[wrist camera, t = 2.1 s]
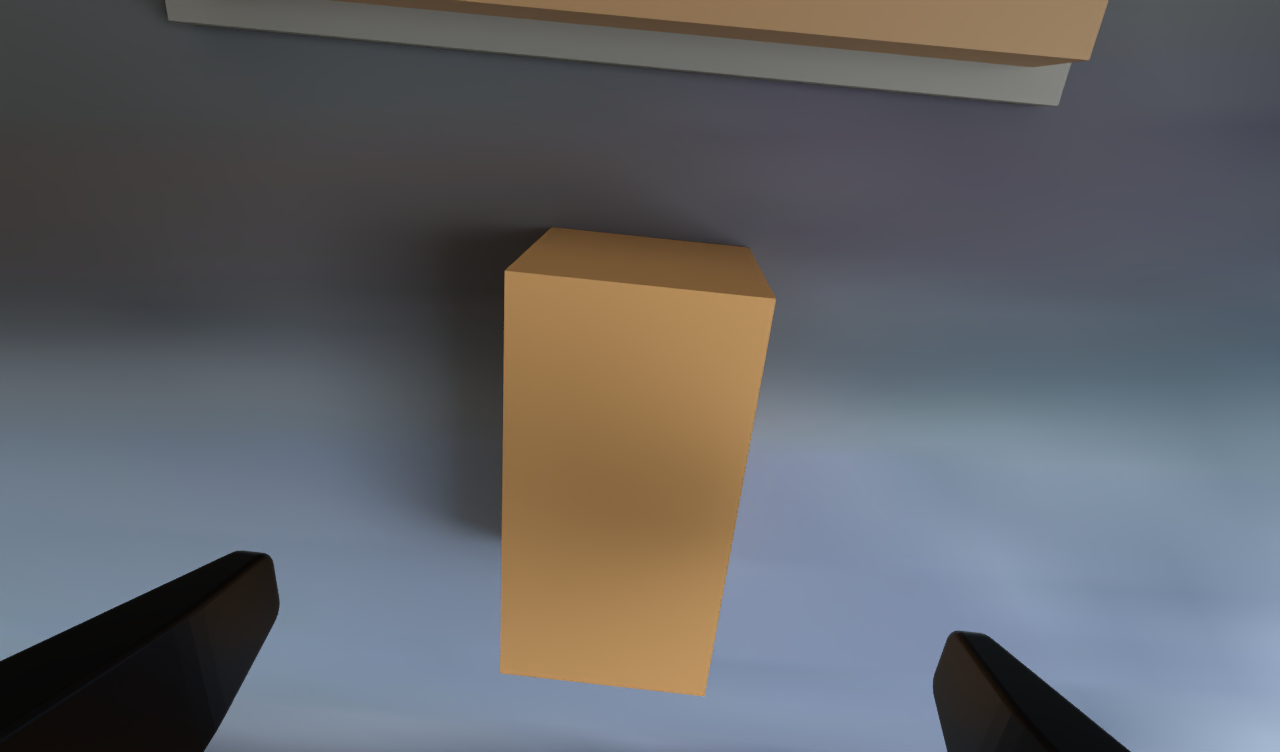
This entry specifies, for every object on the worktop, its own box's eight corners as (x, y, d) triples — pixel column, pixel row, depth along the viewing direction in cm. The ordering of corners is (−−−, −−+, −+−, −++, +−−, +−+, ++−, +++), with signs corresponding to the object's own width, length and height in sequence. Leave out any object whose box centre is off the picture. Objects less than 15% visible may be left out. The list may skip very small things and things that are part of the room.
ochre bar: (553, 226, 13) (504, 270, 9) (748, 245, 13) (776, 299, 9) (540, 545, 16) (500, 673, 12) (698, 562, 16) (704, 696, 12)
